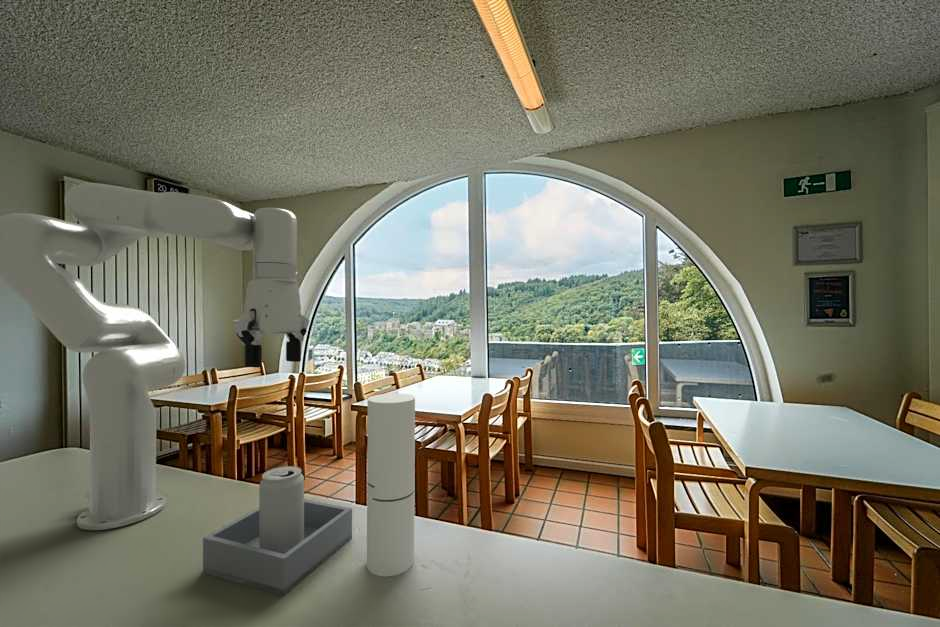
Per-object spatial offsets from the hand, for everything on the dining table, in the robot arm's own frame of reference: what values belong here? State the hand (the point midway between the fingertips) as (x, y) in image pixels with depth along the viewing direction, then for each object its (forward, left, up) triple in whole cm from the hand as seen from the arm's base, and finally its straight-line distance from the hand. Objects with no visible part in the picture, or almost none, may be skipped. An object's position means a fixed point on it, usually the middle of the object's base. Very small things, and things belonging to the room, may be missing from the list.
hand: (274, 363), depth 77 cm
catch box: (+12, -10, -28) cm, 32 cm away
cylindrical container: (+29, -6, -28) cm, 41 cm away
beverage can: (+12, -10, -28) cm, 32 cm away
